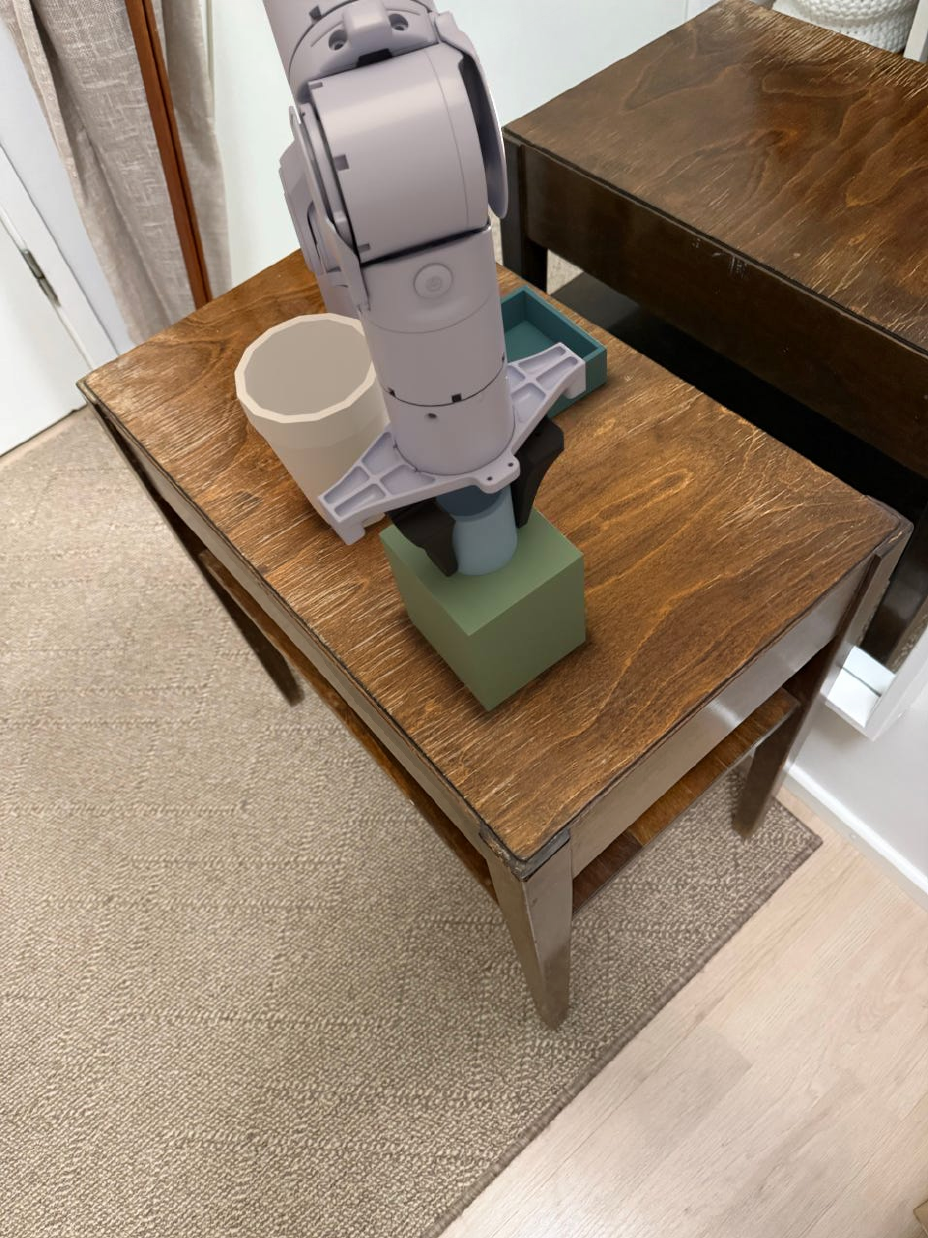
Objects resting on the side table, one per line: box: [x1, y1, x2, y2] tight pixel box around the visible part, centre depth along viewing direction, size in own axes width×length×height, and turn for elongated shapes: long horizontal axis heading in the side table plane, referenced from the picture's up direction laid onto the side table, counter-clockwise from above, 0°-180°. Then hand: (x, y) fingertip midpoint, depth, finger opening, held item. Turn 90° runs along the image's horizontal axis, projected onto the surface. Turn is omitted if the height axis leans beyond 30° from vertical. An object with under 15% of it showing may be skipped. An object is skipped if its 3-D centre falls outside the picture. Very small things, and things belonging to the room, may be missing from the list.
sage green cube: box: [378, 505, 587, 713], centre depth 54 cm, size 9×8×10 cm
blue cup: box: [436, 483, 517, 575], centre depth 48 cm, size 4×4×5 cm
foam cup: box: [234, 312, 390, 528], centre depth 60 cm, size 10×9×13 cm
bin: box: [500, 284, 608, 420], centre depth 68 cm, size 10×8×3 cm
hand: (477, 539), depth 50 cm, fingers closed on blue cup, 4 cm apart
